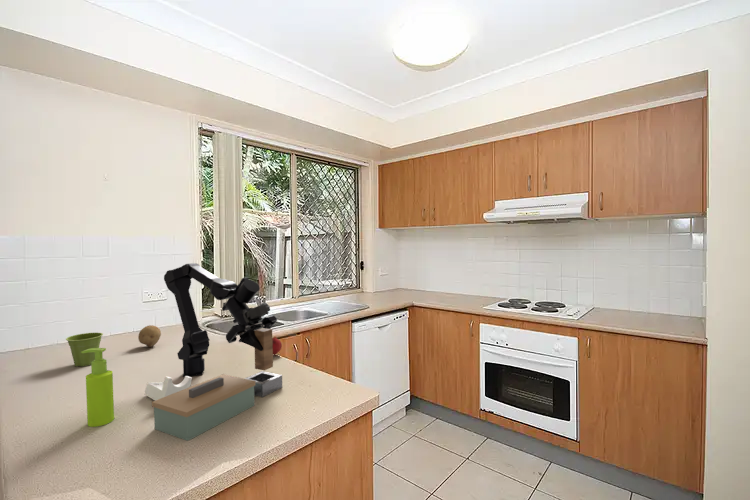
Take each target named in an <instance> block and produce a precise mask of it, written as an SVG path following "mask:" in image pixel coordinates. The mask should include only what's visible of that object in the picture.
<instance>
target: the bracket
mask: <svg viewBox="0 0 750 500" xmlns="http://www.w3.org/2000/svg"><path fill="white" fill-rule="evenodd" d="M192 379H193V376H185V377H183V380H182V381H181V382H180V383H177V384H176V383H173V377H171V376H164V380H163V381H159V382H156V381H155V382H154V381H152V382H147V383H146V386H145V390H144V395H145V396H147V397H148V398H150V399H152V400H153V401H156V400H158V399H161V398H163V397H166V396H168V395H171V394H173V393H176V392H179V391H181V390H184V389H186V388H189V387H191V384H192Z"/></svg>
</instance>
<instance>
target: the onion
mask: <svg viewBox="0 0 750 500" xmlns="http://www.w3.org/2000/svg"><path fill="white" fill-rule="evenodd" d="M272 342H273V356H276V355H277V354H279V353H280V352H281V350H282V342H281V340H280V339H278V338H277V336H276V335H273V336H272Z"/></svg>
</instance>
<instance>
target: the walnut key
mask: <svg viewBox="0 0 750 500" xmlns="http://www.w3.org/2000/svg"><path fill="white" fill-rule="evenodd" d="M254 332H255V336H256V337H257V339H258V340H259V342H260V343H261V345H262V347H263V350H262V351H260V350H258V349H256V348H254V370H261V371H264V372H266V371H267V370H269V369H271V368H274V367H273V366H274V355H273V342H272V338H273V328H271V329H267V328H261V329H258V330H254Z"/></svg>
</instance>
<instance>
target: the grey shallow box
mask: <svg viewBox="0 0 750 500" xmlns="http://www.w3.org/2000/svg"><path fill="white" fill-rule="evenodd" d="M244 379H248V380H253V381H255V386H254V391H255V396H256V397H260V398H264V397H266V396H268V395H270V394H272V393H274V392H276V391H278V390H279V389H282V388H283V374H278V373H273V372H268V371H264V370H261V371H259V372H256V373H254V374H251V375H250V376H247V377H245V378H244ZM255 396H254V397H255Z"/></svg>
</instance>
